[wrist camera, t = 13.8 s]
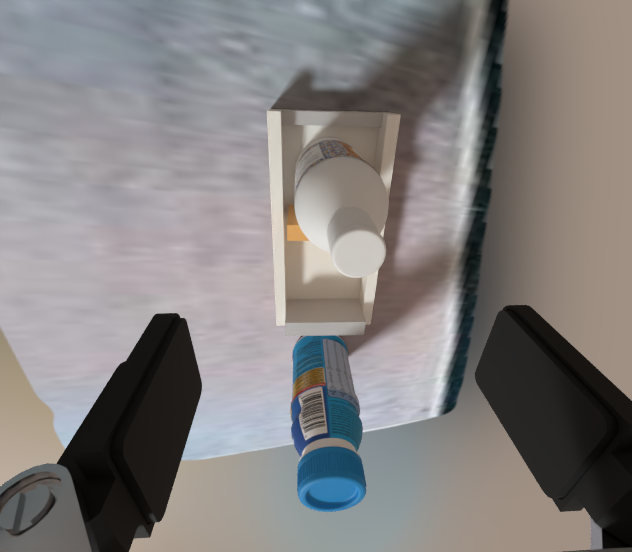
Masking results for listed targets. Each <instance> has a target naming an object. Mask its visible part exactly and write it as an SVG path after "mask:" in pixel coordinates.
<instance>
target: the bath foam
mask: <svg viewBox="0 0 632 552" xmlns="http://www.w3.org/2000/svg"><path fill="white" fill-rule="evenodd" d="M388 206H389V204H388V195H387V191H386V188H385V185H384V183H383V181H382V179H381V177H380V175H379V174H378V173H377V171H376V170H375V169H374V168H373V167H372V166H371V165H370V164H369V163H368V162H367V161H366V160H365V159H364V158H363V157H362V156H361V155H360V154H359V153H358V152H357V151H356V150H355V149H354V148H353V147H351V146H350V145H349V144H348V143H346V142H345V141H343V140H340V139H337V138H322V139H318V140H316V141H314V142H313V143H311V144H309V145H308V146H307V147H306V148H305V149H304V150H303V151H302V153H301V154H300V156H299V158H298V161H297V164H296V169H295V190H294V211H295V216H296V219H297V222H298V224H299V226H300V228H301V230H302V232H303V233H304V235H305V236H306V237H307V238H308V240H309V241H310V242H311V243H313V244H314V245H315V246H317V247H318V248H320V249H322V250H324V251H326V252H329V253H330V254H331V259H332V262H333V264H334V266H335V267H336V269H337V270H338V271H339V272H341V273H342V274H344V275H346V276H348V277H353V278H361V277H365V276H368V275H370V274H372V273H374V272H375V271H377V270H378V269H379V268H380V267H381V265H382V264H383V262H384V260H385V257H386V244H385V241H384V239H383V237H382V236H381V234H380V233H381V231H382V230H383V228H384V225H385V223H386V220H387V216H388Z"/></svg>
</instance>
